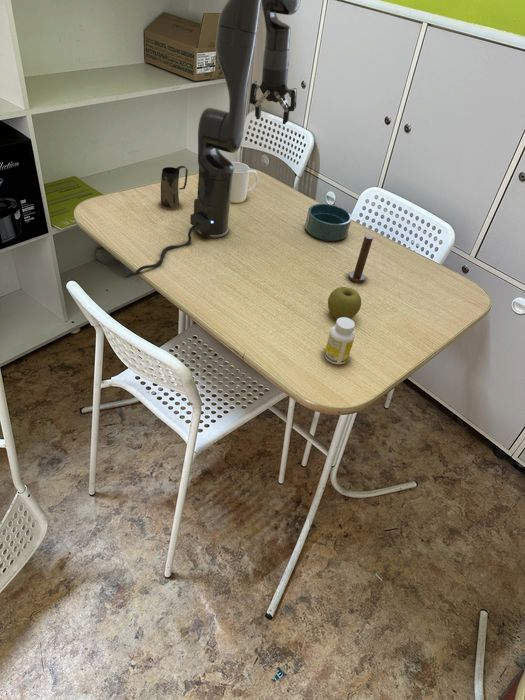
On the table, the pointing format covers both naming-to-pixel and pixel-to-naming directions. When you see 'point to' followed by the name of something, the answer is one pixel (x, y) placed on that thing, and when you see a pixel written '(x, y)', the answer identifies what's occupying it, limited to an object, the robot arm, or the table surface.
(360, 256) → the brown rod with base
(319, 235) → the bowl
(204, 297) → the table surface
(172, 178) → the mug
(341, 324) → the supplement bottle
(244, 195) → the cup
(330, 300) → the apple
